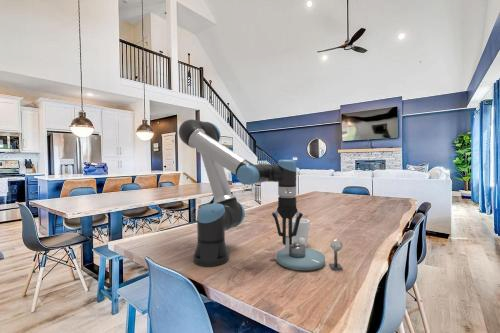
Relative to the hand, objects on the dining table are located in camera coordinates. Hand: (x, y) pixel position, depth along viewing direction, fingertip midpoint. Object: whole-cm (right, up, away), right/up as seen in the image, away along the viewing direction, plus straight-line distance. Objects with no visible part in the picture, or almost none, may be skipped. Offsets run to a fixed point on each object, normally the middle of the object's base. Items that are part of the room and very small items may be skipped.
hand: (287, 252), depth 109 cm
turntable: (+6, -4, 0) cm, 7 cm away
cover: (+4, -1, 0) cm, 4 cm away
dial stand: (+18, -4, -6) cm, 20 cm away
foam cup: (+9, -4, +19) cm, 21 cm away
